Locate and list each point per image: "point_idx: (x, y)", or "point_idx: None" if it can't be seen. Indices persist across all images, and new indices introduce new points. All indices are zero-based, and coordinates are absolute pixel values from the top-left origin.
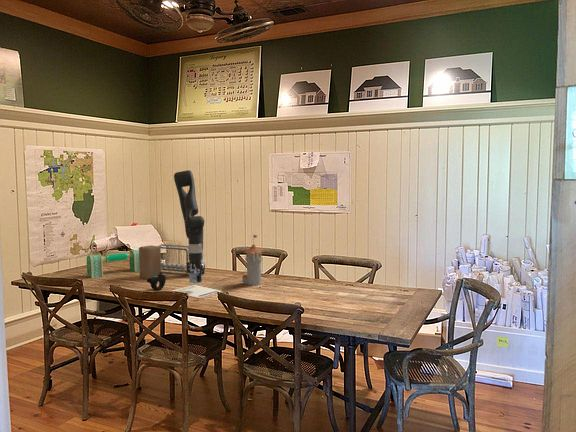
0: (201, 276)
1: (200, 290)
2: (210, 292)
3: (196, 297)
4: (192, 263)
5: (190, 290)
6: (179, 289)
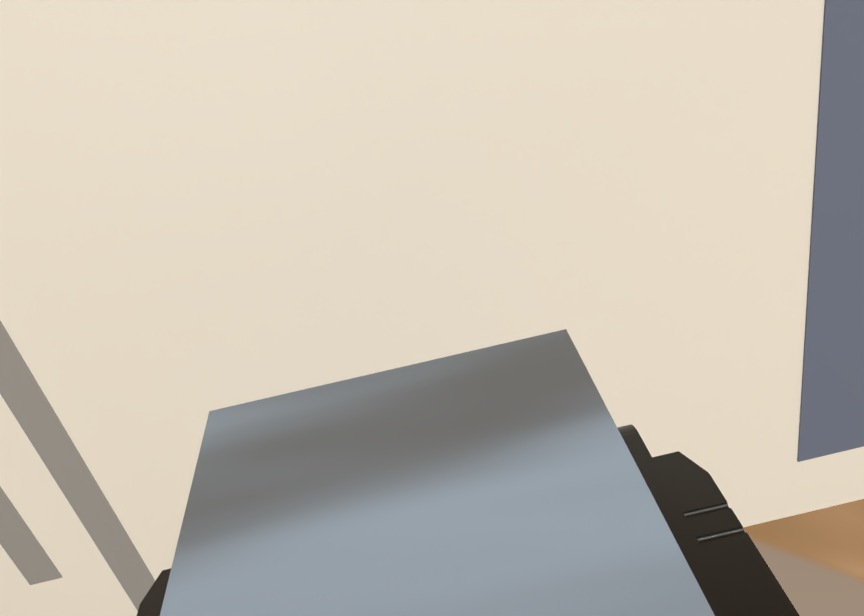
0: (650, 517)
1: (422, 211)
2: (821, 103)
3: (841, 498)
4: None
5: (252, 400)
6: (10, 547)
